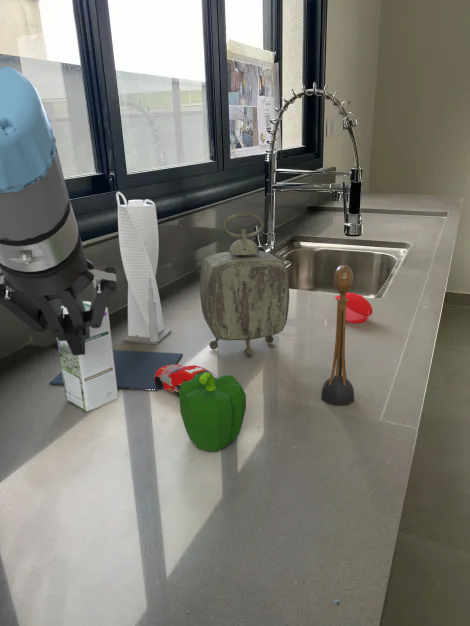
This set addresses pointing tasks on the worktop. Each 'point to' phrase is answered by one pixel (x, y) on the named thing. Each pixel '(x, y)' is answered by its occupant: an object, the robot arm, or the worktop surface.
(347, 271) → the wooden tabletop sculpture
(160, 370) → the race car
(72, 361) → the syrup box
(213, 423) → the bell pepper
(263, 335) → the tabletop clock
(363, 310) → the cap
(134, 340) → the skyscraper
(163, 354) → the mat
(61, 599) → the worktop surface
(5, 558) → the worktop surface
